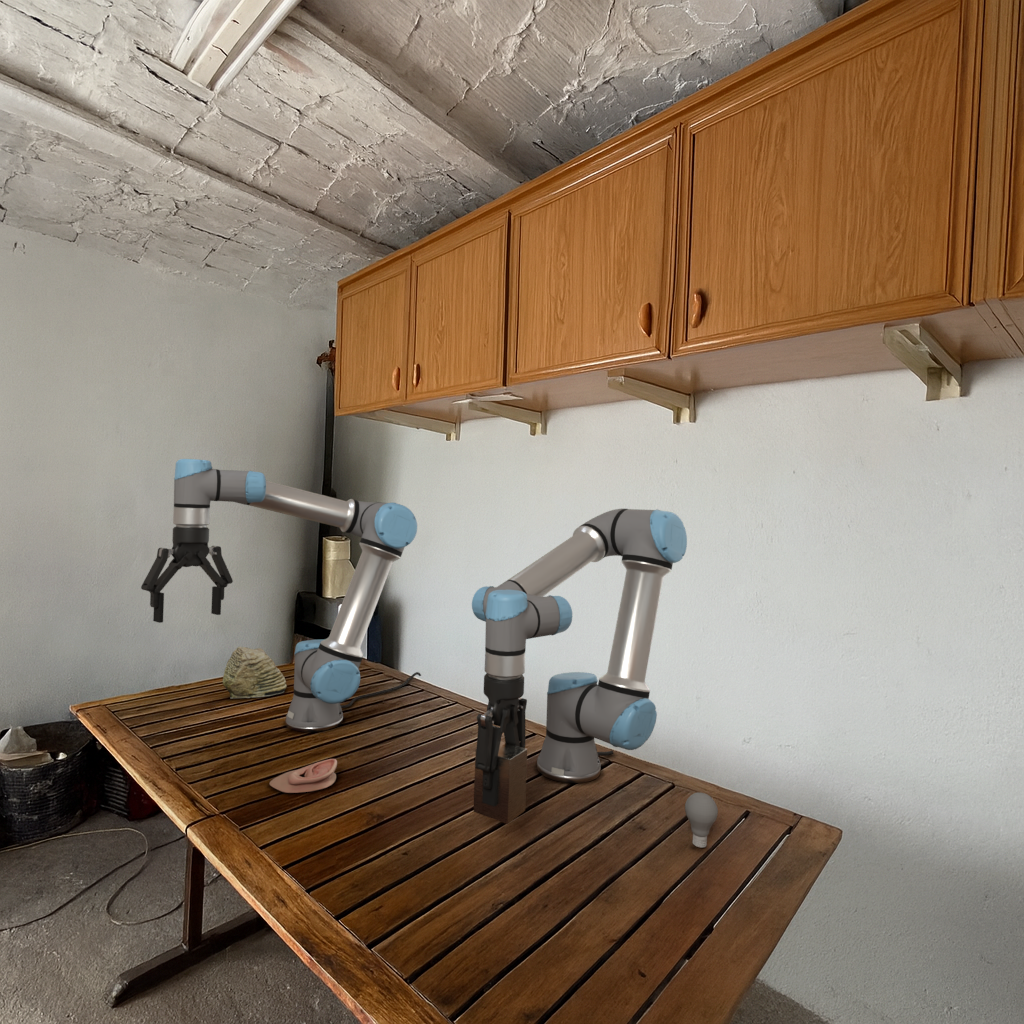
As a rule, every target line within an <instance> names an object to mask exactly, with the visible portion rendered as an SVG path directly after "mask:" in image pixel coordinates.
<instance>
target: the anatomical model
mask: <svg viewBox="0 0 1024 1024" xmlns="http://www.w3.org/2000/svg"><path fill="white" fill-rule="evenodd" d="M337 766H338V760H337V759H336V758H329V759H324V760H321V761H318V762H315V763H314V762H313V763H312V764H309V765H306V766H303V767H301V768H298V769H294V770H289V771H287V772H284V773H282V774H279V775H277V776H276V777H274V778H273V779H271V780H270V781H269V786H270V787H272V788H273V789H275V790H277V791H279V792H282V793H286V794H294V793H295V794H296V793H297V794H299V793H306V792H307V793H308V792H315V791H319V790H320V791H321V790H323V789H326V788H328V787H330V786H332V785H333V784H334V783H335V782H336V780H337V773H335V771H336V769H337V768H338V767H337Z"/></svg>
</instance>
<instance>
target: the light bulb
mask: <svg viewBox="0 0 1024 1024" xmlns="http://www.w3.org/2000/svg"><path fill="white" fill-rule="evenodd" d="M685 801H686V802H685V804H684V811H685V815H686V817H687V820H688V821H689V824H690V828H691V832H692V845H694V846H695V847H696V848H700V849H702V848H706V847H707V842H708V836H709V835H710V830H711V828H712V826H713V825H714V824H715V822H716V821H717V818H718V814H719V809H718V805H717V803H716V801H715V799H713V797H712V796H710V795H709V794H707V793H705V792H694V793H693V794H691V795H689V796H688V798H687V799H686V800H685Z"/></svg>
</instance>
